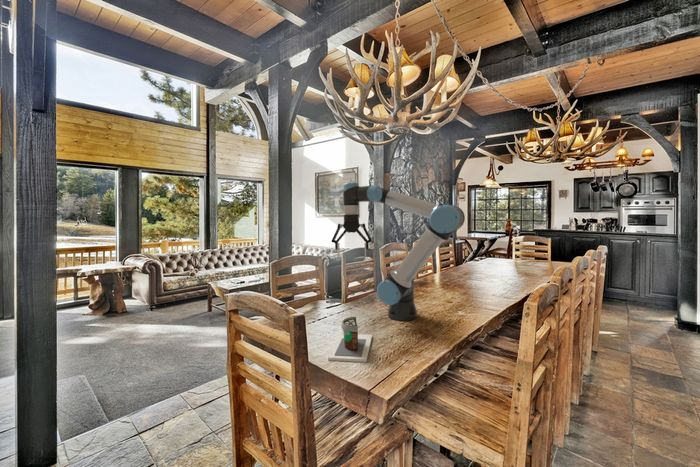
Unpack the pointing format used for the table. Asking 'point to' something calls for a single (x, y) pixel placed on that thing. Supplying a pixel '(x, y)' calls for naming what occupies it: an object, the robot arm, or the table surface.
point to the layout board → (347, 355)
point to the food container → (350, 333)
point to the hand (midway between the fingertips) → (352, 256)
